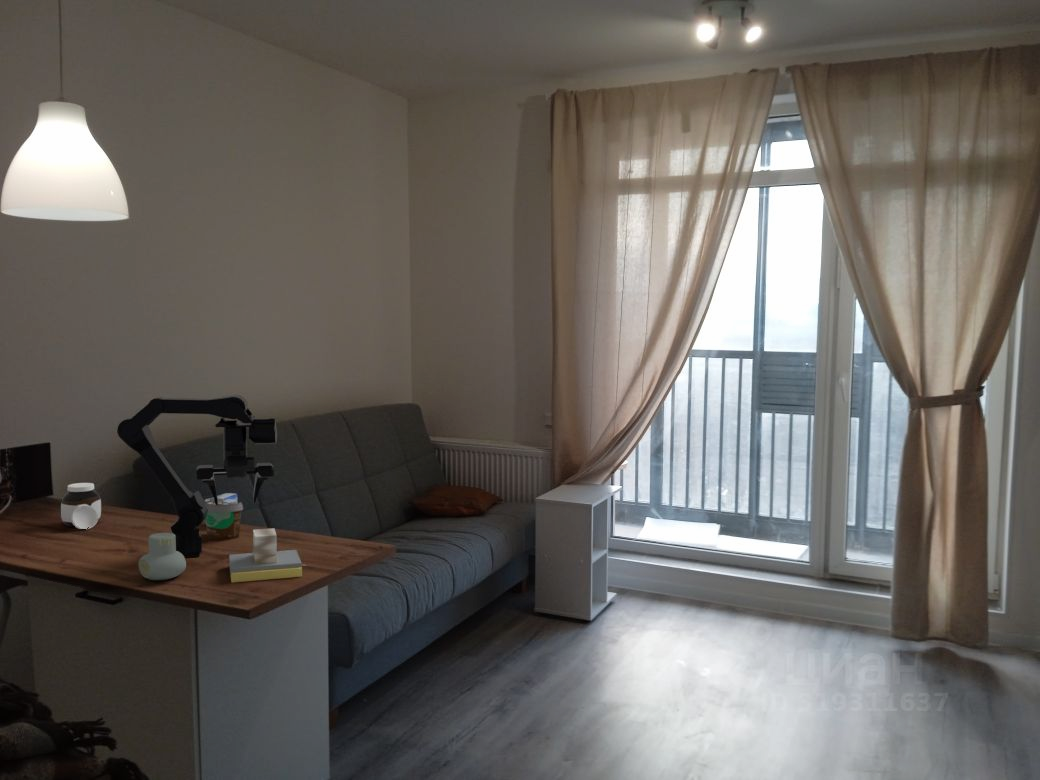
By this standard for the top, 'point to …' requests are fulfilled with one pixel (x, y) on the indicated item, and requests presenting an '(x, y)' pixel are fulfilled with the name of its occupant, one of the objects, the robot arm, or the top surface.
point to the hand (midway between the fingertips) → (235, 503)
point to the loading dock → (264, 567)
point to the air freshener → (162, 558)
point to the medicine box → (226, 498)
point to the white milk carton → (264, 546)
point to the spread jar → (81, 506)
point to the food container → (223, 520)
